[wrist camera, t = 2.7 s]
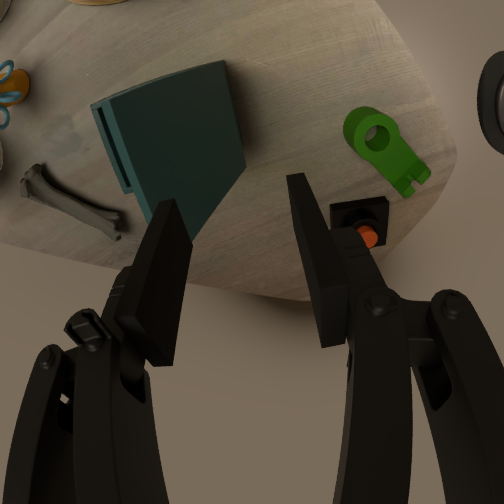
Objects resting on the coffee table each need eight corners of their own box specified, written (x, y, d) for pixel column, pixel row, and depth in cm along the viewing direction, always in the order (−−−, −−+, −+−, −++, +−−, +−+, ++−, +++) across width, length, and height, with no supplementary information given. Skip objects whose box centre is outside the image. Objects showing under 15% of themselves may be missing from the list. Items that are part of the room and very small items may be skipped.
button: (374, 223, 45) (378, 229, 44) (373, 240, 47) (376, 247, 46) (354, 226, 45) (357, 233, 44) (354, 244, 48) (357, 250, 46)
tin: (143, 167, 42) (124, 194, 35) (117, 92, 34) (89, 105, 27) (243, 143, 40) (243, 165, 33) (223, 59, 32) (218, 61, 25)
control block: (384, 195, 46) (393, 208, 43) (381, 237, 52) (389, 251, 48) (329, 204, 47) (335, 217, 44) (331, 246, 52) (336, 261, 49)
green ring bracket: (333, 130, 39) (343, 140, 35) (364, 97, 36) (377, 103, 32) (393, 188, 45) (404, 201, 41) (420, 160, 41) (434, 171, 38)
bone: (27, 183, 41) (10, 201, 36) (33, 154, 38) (14, 170, 33) (122, 236, 50) (111, 258, 45) (135, 210, 46) (123, 231, 42)
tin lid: (166, 265, 22) (175, 266, 21) (100, 103, 14) (108, 99, 13) (240, 167, 33) (246, 167, 33) (215, 62, 25) (222, 60, 25)
